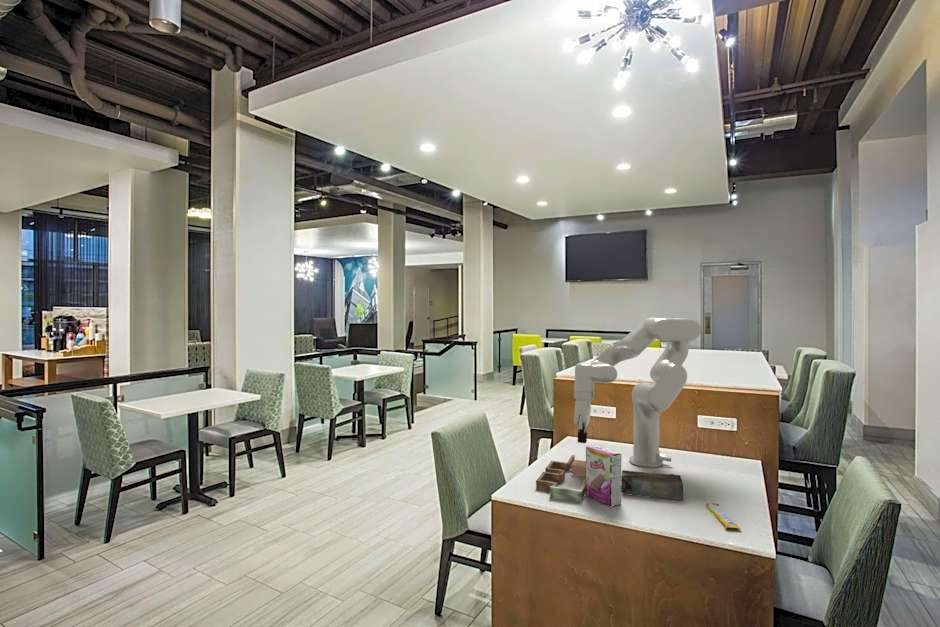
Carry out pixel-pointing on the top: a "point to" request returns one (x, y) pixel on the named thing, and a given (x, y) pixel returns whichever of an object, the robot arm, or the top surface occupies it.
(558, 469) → the trap lane
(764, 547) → the top surface
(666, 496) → the dark brown long block
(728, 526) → the candy bar
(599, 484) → the candy bar box
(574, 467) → the block
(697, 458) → the top surface
